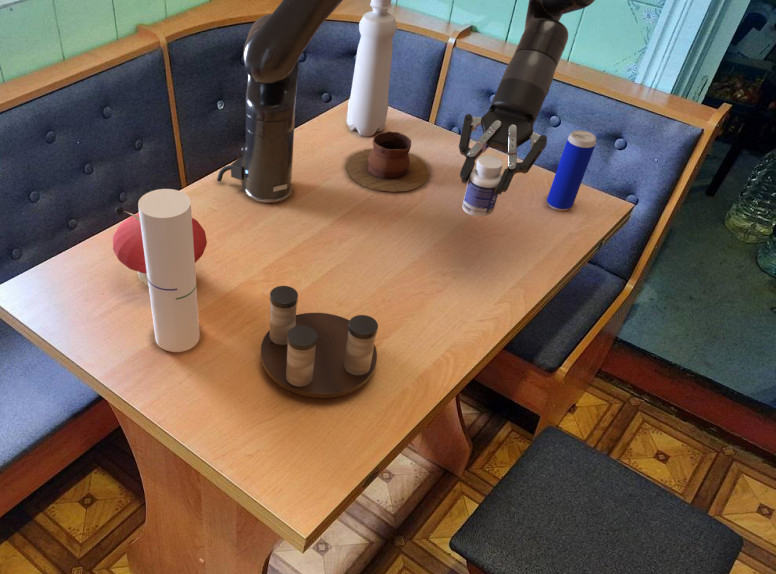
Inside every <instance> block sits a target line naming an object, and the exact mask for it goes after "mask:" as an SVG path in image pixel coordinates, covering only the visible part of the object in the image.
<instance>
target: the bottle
mask: <svg viewBox="0 0 776 574" xmlns="http://www.w3.org/2000/svg"><path fill="white" fill-rule="evenodd" d="M369 6H370V7H371V8H372V10H370V11H366V12H365V13H364V14H363V16H362V18H361V19H360V21H359V24H358V31H359V33H360V39H359V42H358V46H357V50H356V57H355V63H354V71H353V76H352V83H351V89H350V96H349V99H348V102H347V112H346V113H347V114H346V124H347V126H348V128H349V130H350V131H351V132H352V131H357V132H358V134H359V136H363V137H373V136H374V135H375V133H376V132H380V133H382V131H383V130H384V128H386V125H387V117H388V110H389V94H390V93H389V91H390V81H391V73H392V72H391V71H392V61H393V50H394V48H393V47H394V46H393V38H394V36H395V34H396V32H397V28H398V23H397V21H396V17H395V16H394V14H392V13H391V12H388V11H389V9H390V8H392V6H393V5H392V0H370V3H369Z"/></svg>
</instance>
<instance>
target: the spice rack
mask: <svg viewBox="0 0 776 574" xmlns="http://www.w3.org/2000/svg"><path fill="white" fill-rule="evenodd" d="M269 302H270V306H269V309H270V310H269V330H268V331H267V332H266V334H265V335H264V336H263V339H262V341H261V346H260V360H261V364H262V366H263V369H264V371H265V373H266V374H267V376H269V378H271V380H272V381H273V382H274V383H276V384H278V385H279V386H280V387H281V388H283V389H285V390H287V391H289V392H292V393H295V394H296V395H299V396H303V397H310V398H317V399H319V398H321V399H326V398H335V397H341V396H345V395H347V394H350V393H352V392H354V391H357V390H359V389H360V388H362V386H364V385H365V384H367V382H368V381H369V380H370V379H371V377H372V376H373V374H374V373H375V369H376V367H377V361H378V352H377V347H376V344H375V342H376V338H377V337H376V336H377V334H378V331H379V323H378V321H377V320H376V319H375V318H374V317H372V316H369V315H366V314H358V315H355V316H352V317H351V318H350V319H349V318H345V317H343V316H340V315H336V314H333V313H326V312H304V313H298V314H297V308H298V302H299V293H298V291H297V290H296V289H295V288H294V287H292V286H288V285H279V286H275V287H274V288H272V289H271V290H270V293H269Z"/></svg>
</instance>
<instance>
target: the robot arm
mask: <svg viewBox="0 0 776 574" xmlns="http://www.w3.org/2000/svg"><path fill="white" fill-rule="evenodd" d="M343 1H344V0H281V2H280V3H279V5H277V7H276V8H275V10H274V11H272V13H268V14H265V15H262V16H261V17H259V18H257V20H256V21H254V22H253V23H252V25H251V27H250V29H249V32H248V34H247V37H246V39H245V42H244V46H243V51H242V52H243V53H242V56H243V57H242V58H243V64H244V65H243V66H244V68H245V70H246V71H245V72H247V82H246V92H245V145H243V146H242V147H241V156H240V157H238V159H235V161H234V162H232V163H231V164H228V165H226V166H224V167H222V168H221V169H220V170H219V172H218V173H217V178H216V181H217V182H220V183H221V182H222V180H223V176H224V174H225V173H226V172H228V171H230V177H231V178H234V179H237V180H239V181H241V192H244V193H245V194H246V195H247V197H248V198H250V199H251V200H253V201H255V202H257V203H258V202H259V203H264V204H275V203H280V202H283V201H285V200H287V199H288V198H289V197H291V195H292V191H293V187H292V184H293V183H292V177H293V164H294V163H293V160H294V141H295V139H294V137H295V136H294V135H295V120H296V119H295V117H296V102H297V101H296V100H297V92H298V80H299V79H298V78H299V77H298V76H299V62H300V58H301V56H302V54H303V52H304V51H305V49H306V48H307V47H308V45H309V43H310V41H311V40H312V39H313V37H314V36H315V34H316V32H317V31H318V30H319V29H320V27H322V25H323V24H324V22H325V21H326V20H327V19H328V18H329V17H330V16H331V15H332V13H333V12H334V11H335V10H336V9H337V8H338V7H339V6H340V5H341V3H342V2H343ZM595 1H596V0H528V5H527V10H526V15H525V22H524V23H525V24H524V30H523V33H522V35H521V37H520V39H519V42H518V44H517V46H516V48H515V51H514V53H513V56H512V57H511V59H510V61H509V62H508V64H507V66H506V68H505V71H504V73H503V75H502V77H501V79H500V81H499V84H498V87H497V89H496V91H495V94H494V97H493V99H492V101H491V103H490V106H489V108H488V111H487V112H486V113H485V114H483V116H482V117H480V116H473V115H472V114H471V113H467V114H465V115H464V119H463V124H462V127H461V128H462V129H461V134H460V139H459V144H458V149H459V153H460V155H462V156H464V158H465V159H464V162H463V164H462V167H461V169H460V172H459V177H460V180H461V183H462V184H465V185H468V181H469V176H470V173H471V172H472V171H473V170H474V169H475V167H476V161H477V160H478V159H479V158H480V157H481V156H482V154H484V153H485V152H486V151H487V150H488V149H489V148H492V149H498V150H501V151H502V152H505V153H507V155H508V158H507V167H506V168H504V170H503V173H502V174H501V176H502V177H501V180H500V182H499V184H498V187H497V189H496V194H498V195H500V196H501V195H502V193H506V192H507V191H508V190H509V187H510V186H511V185H510V184H511V183H512V180H513V178H514V176H515V175H516V174H521V173H522V174H524V175H525V174H528V172H529V171H530V170H531V168H532V167H533V166H534V164H535V163H536V161H537V160H538V158H539V157H540V156H541V154H542V153H543V151H544V150H545V148H546V147H547V145H548V137H547V135H545V134H542V135H541V134H538V133H536V132H535V131H534V126H535V123H536V120H537V118H538V116H539V113H540V111H541V109H542V106H543V105H544V102H545V100H546V97H547V96H548V94H549V92H550V87H551V86H552V84H553V80H554V78H555V77H554V76H555V73H556V71H557V68H558V65H559V63H560V61H561V59H562V56H563V53H564V51H565V49H566V46H567V44H568V40H569V31H568V28H567V26H566V25H565V24H564V23H562V22H561V19H562V16H563V15H565V14H569V13H572V12H575V11H580V10H583V9H586V8H587V7H589V6H591V5H592V4H594V2H595ZM479 126H481V129H482V132H483V133H482V135H481V136H480V137H479V138H478V139H477V140H476V143H475V144H474V145H472V147H470V142H471V137H472V132H476V130H477V128H478V127H479ZM530 140H531V141H530ZM528 141H530V148H531V149H530V150H529V151H528V153H527V154H526V156H525V157H524V159H523V160H522V162H521V161H520V162H518V148H519V147H520V146H523V144H525V143H527V142H528Z"/></svg>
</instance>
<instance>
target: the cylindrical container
mask: <svg viewBox="0 0 776 574" xmlns="http://www.w3.org/2000/svg"><path fill="white" fill-rule="evenodd" d="M137 207H138V213H139V216H140V224H141V231H142V239H143V247H144V254H145V262H146V270H147V278H148V286H149V287H148V286H147V287H148V291H149V299H150V307H151V317H152V322H153V331H154V332H153V333H154V340H155V343H156V345H157V346H158V347H159V348H161V349H162V350H164V351H167V352H170V353H180V352H181V353H182V352H186V351H189V350H191V349H192V348H194V347H195V346H196V345H197V344H198V343H199V341H200V338H201V335H200V319H199V318H200V317H199V304H198V303H199V302H198V290H197V275H196V263H195V259H194V244H193V229H192V218H193V216H192V202H191V199H190V197H189V196H188V195H187V194H186V193H185V192H184V191H180V190H177V189H173V188H159V189H154V190H150V191H149V192H146V193H145V194H143V195H142V196H141V197H140V198H139V199H138V203H137Z"/></svg>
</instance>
